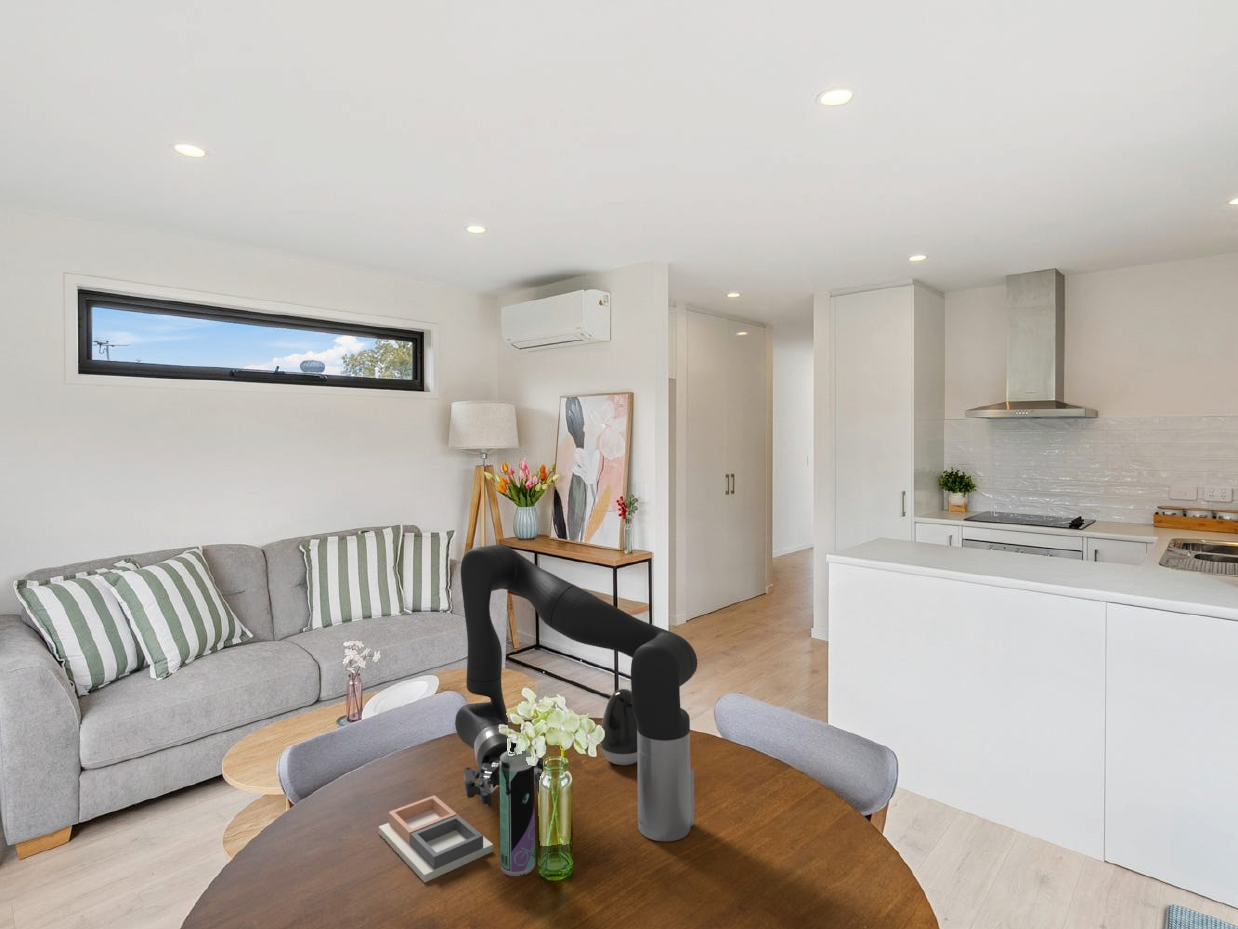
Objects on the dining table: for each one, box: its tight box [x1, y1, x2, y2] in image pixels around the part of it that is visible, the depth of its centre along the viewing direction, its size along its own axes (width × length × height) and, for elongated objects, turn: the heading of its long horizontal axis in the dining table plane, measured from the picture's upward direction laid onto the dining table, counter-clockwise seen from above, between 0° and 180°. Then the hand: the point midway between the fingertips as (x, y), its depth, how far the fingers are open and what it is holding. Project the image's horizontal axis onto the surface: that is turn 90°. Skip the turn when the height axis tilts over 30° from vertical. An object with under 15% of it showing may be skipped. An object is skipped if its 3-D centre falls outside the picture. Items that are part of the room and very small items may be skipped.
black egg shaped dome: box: [599, 688, 637, 766], centre depth 143 cm, size 10×10×15 cm
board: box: [378, 794, 494, 883], centre depth 113 cm, size 12×18×3 cm, turn 41°
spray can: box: [499, 742, 536, 877], centre depth 106 cm, size 6×6×20 cm
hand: (516, 795), depth 107 cm, fingers open, 8 cm apart
